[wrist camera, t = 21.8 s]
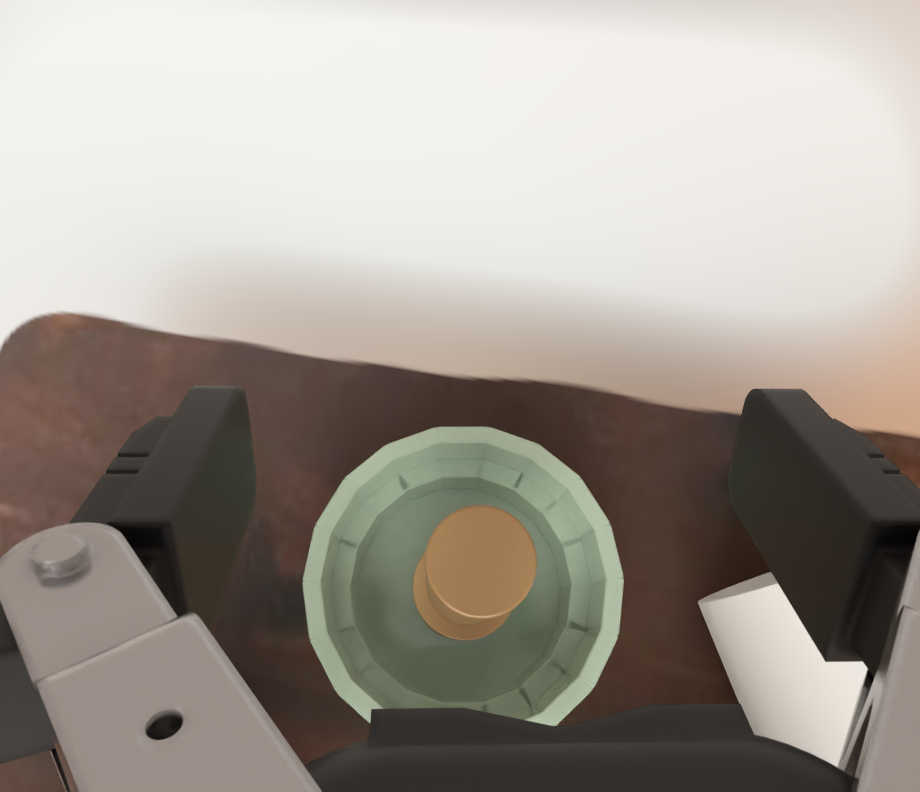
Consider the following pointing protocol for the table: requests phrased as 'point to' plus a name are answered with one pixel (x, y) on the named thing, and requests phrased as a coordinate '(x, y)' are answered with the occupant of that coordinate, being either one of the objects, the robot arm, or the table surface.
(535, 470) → the bowl
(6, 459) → the table surface
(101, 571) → the robot arm
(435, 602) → the muddler
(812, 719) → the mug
